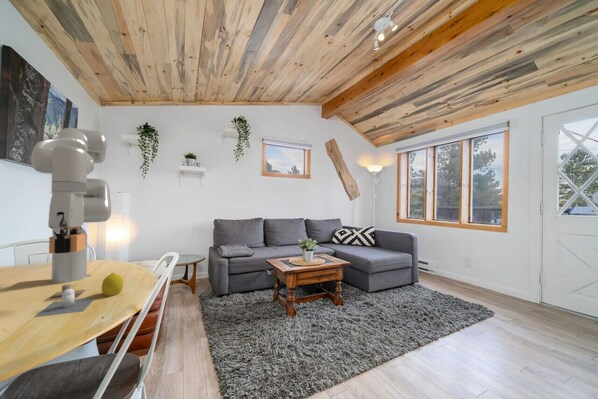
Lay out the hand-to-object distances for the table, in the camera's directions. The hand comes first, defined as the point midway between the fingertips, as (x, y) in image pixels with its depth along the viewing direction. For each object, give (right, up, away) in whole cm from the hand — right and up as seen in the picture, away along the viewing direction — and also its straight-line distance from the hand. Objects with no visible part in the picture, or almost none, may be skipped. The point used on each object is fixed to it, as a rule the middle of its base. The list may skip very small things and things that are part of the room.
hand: (68, 250), depth 72 cm
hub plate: (+2, -16, -3) cm, 17 cm away
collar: (0, 0, 0) cm, 0 cm away
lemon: (+8, -17, +7) cm, 20 cm away
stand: (-5, -16, +5) cm, 18 cm away
